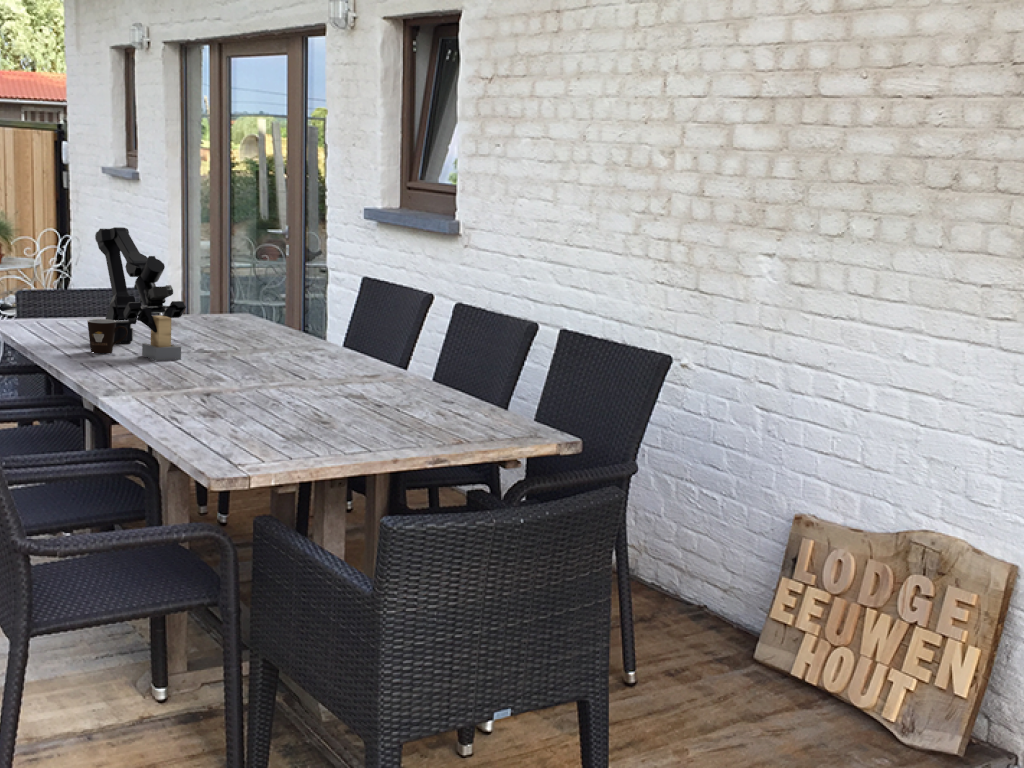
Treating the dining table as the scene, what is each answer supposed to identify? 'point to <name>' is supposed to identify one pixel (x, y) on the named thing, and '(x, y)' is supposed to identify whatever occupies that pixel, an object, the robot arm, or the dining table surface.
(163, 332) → the block
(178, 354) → the end cap
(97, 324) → the coffee mug
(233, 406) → the dining table surface
